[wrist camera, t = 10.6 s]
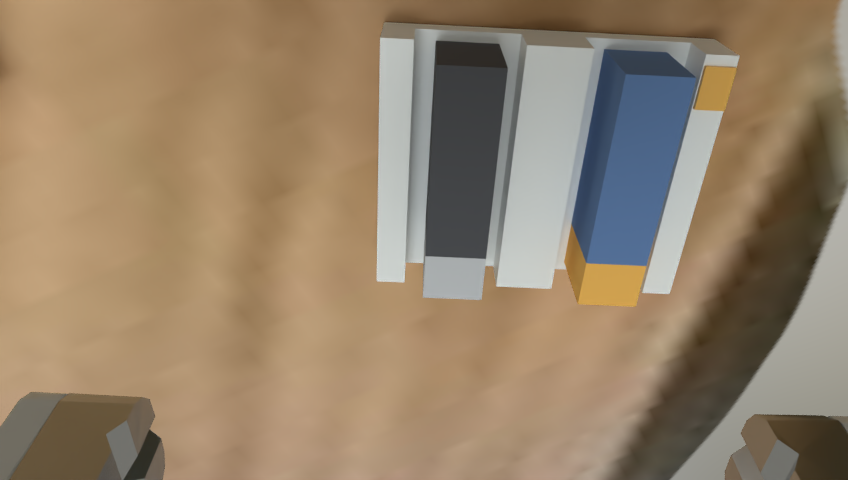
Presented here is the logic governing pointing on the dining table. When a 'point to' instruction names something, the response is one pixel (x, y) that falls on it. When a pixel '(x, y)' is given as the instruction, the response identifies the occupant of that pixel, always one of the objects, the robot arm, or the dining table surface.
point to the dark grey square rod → (462, 166)
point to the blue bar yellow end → (625, 173)
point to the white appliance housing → (534, 144)
